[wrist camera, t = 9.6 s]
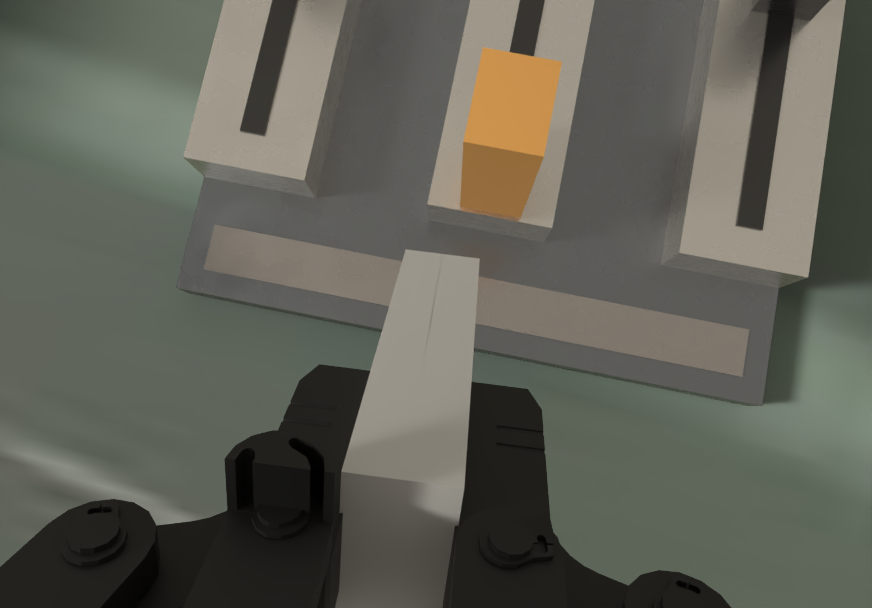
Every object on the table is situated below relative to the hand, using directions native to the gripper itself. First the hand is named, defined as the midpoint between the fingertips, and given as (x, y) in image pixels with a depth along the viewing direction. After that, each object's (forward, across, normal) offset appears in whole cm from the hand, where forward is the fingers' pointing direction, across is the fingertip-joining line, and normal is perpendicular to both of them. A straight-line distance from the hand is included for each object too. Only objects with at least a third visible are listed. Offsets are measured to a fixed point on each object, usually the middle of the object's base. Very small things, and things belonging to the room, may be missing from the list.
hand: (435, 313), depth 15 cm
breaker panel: (+21, +2, +1) cm, 21 cm away
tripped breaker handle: (+14, +1, -2) cm, 14 cm away
